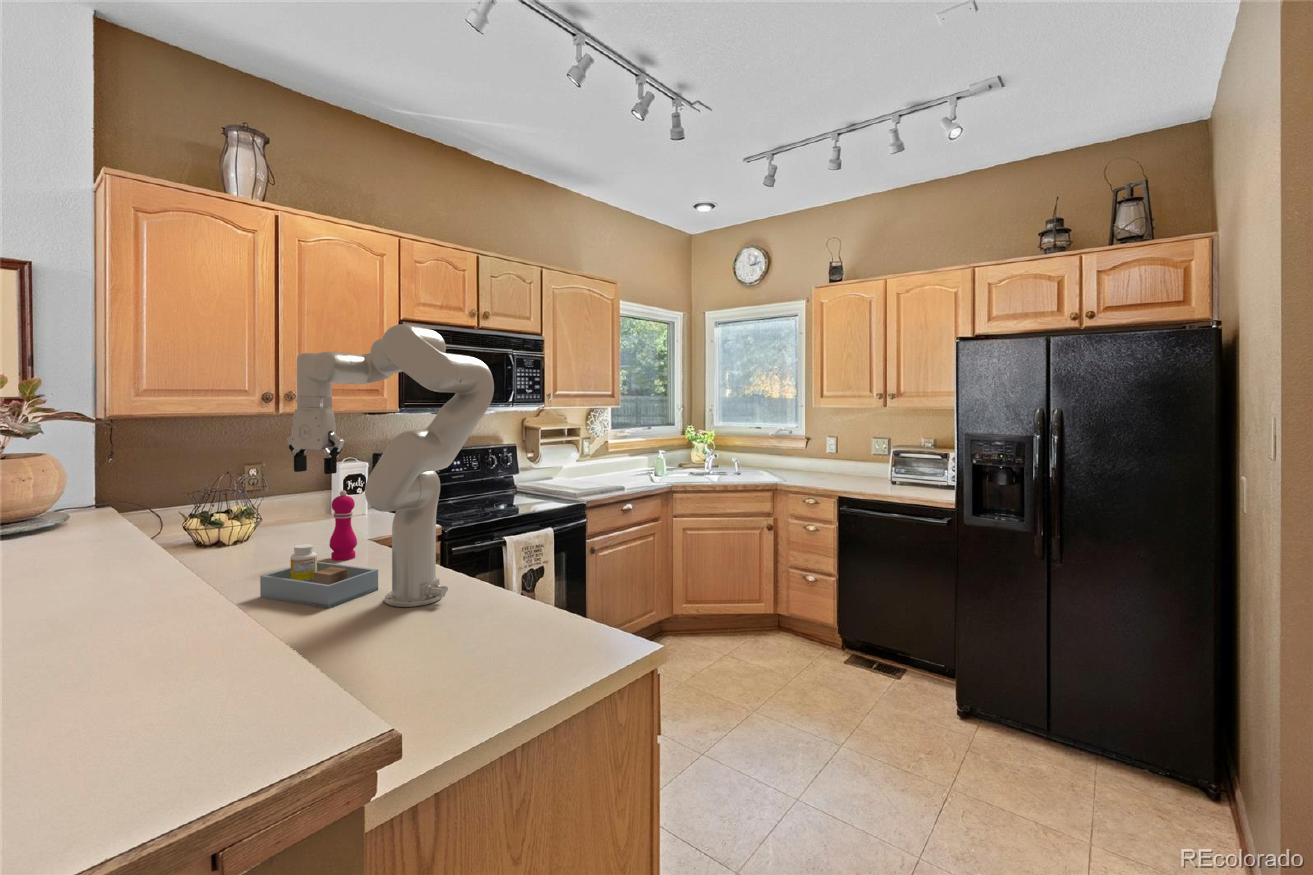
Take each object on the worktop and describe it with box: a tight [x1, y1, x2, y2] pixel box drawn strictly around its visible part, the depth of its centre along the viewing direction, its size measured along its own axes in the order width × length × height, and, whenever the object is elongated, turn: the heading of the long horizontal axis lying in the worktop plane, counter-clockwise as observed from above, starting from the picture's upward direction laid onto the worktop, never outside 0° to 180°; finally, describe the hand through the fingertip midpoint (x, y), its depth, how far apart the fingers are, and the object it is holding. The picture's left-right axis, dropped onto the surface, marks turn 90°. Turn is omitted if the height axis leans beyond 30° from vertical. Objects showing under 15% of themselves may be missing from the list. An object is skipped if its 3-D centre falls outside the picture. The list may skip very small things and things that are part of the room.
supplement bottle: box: [290, 543, 318, 582], centre depth 145 cm, size 6×6×10 cm
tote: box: [259, 561, 379, 609], centre depth 144 cm, size 21×15×5 cm
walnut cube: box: [313, 567, 347, 585], centre depth 143 cm, size 5×5×5 cm
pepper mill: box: [328, 489, 358, 562], centre depth 175 cm, size 7×7×20 cm
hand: (315, 472), depth 149 cm, fingers open, 9 cm apart
